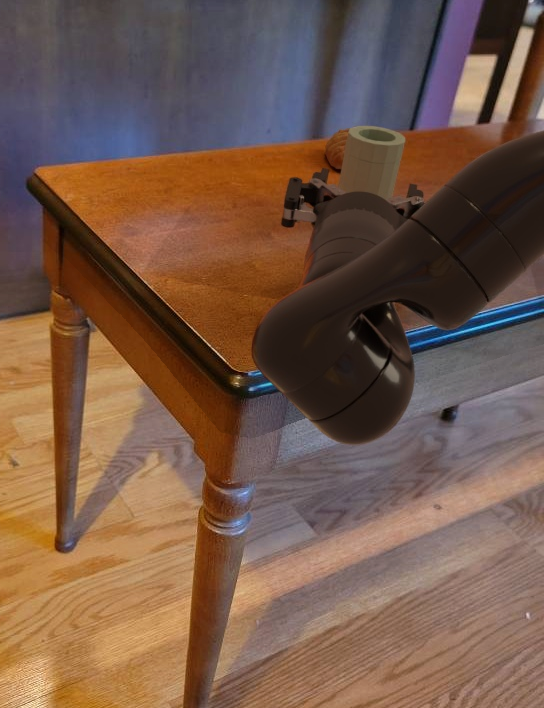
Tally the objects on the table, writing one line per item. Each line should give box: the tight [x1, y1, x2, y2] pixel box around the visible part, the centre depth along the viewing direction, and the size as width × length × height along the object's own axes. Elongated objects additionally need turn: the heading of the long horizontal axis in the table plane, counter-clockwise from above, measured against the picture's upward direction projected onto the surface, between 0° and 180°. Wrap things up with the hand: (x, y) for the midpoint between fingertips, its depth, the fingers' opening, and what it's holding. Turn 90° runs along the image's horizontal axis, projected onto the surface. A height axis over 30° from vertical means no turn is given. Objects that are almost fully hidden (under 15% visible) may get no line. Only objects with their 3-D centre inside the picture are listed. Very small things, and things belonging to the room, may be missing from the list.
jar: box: [337, 125, 406, 199], centre depth 84 cm, size 6×6×11 cm
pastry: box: [324, 127, 351, 170], centre depth 104 cm, size 9×7×4 cm
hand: (367, 185), depth 72 cm, fingers open, 8 cm apart
